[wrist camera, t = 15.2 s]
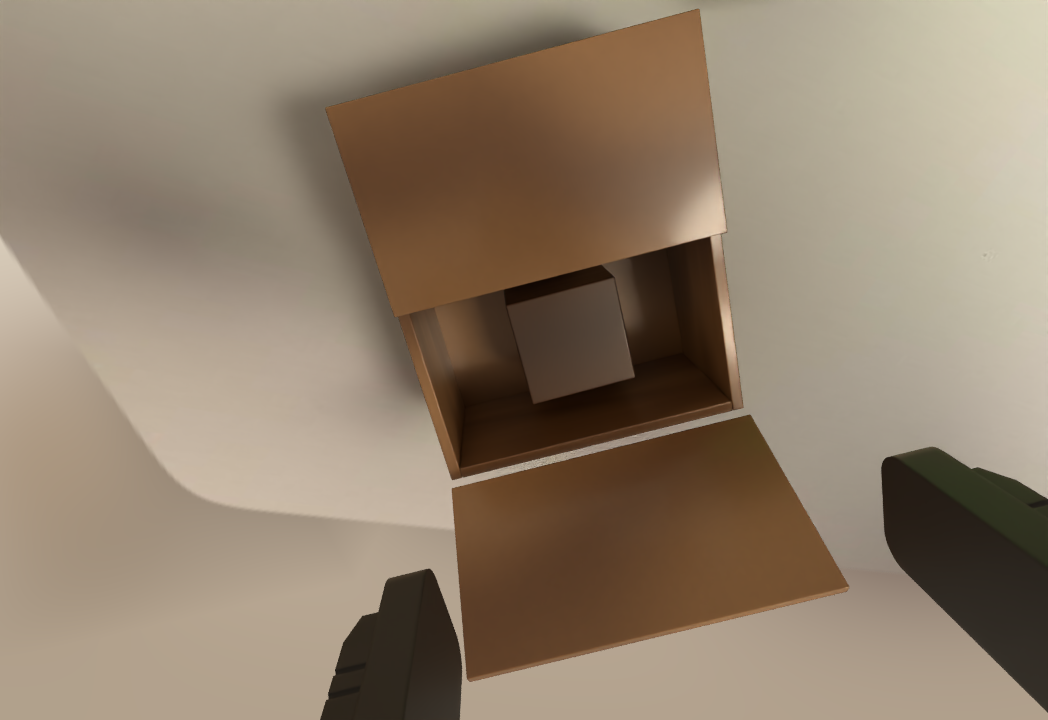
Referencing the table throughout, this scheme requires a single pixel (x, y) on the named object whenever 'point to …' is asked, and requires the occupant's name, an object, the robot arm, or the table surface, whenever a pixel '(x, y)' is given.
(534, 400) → the block
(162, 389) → the table surface
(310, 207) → the table surface
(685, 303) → the carton
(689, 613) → the flap
